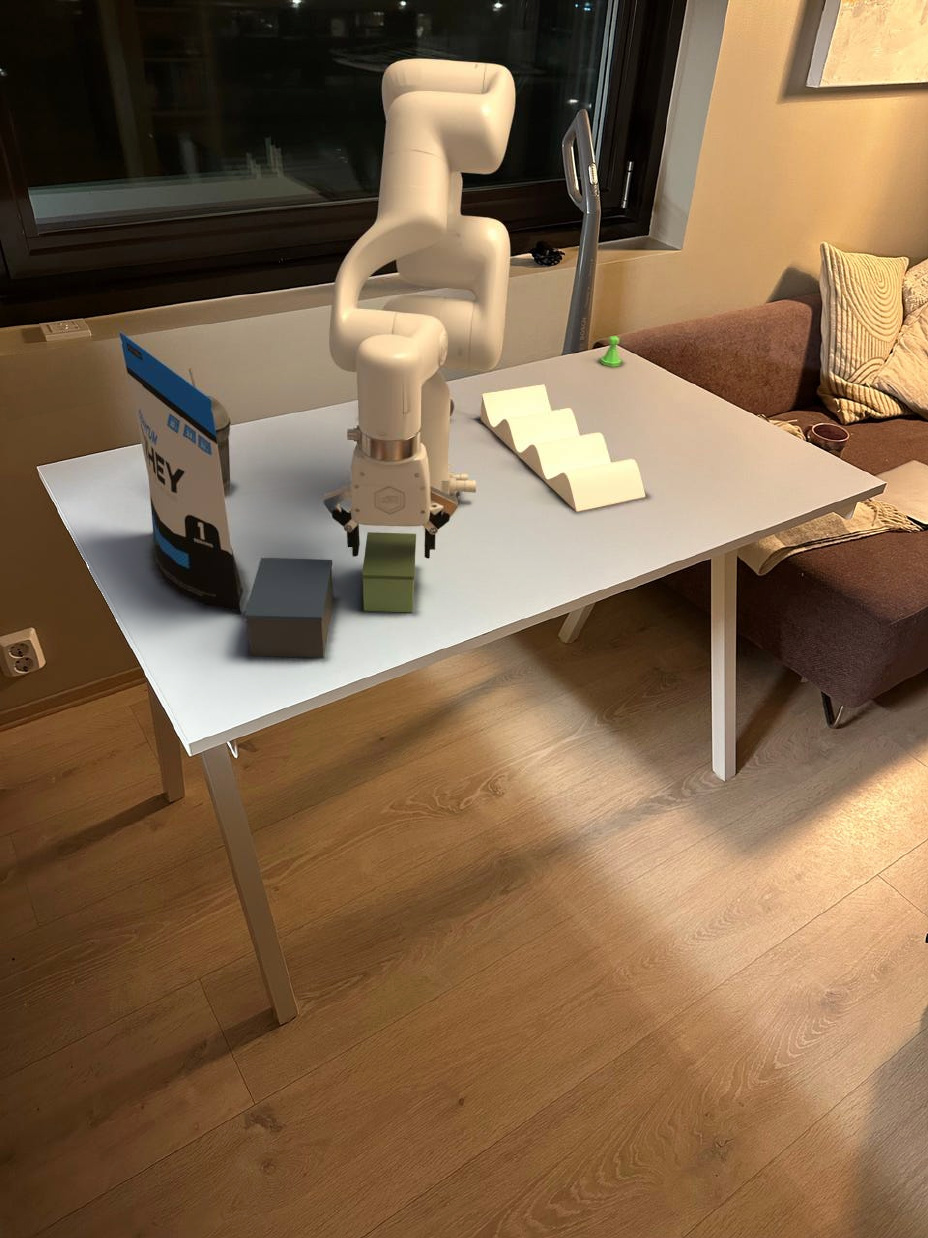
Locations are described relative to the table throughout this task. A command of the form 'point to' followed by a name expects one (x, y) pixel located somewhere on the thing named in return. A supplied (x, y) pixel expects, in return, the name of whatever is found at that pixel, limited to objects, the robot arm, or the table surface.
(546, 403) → the cream wavy block
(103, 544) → the table surface
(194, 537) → the protein powder
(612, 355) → the game piece
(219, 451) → the beverage cup
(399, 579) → the olive green rectangular box
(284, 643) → the storage box
